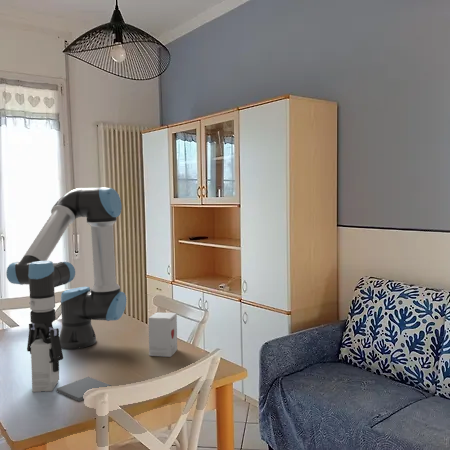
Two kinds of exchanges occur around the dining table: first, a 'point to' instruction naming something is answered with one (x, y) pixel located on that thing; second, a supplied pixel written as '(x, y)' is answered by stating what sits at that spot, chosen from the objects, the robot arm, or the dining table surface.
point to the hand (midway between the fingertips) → (45, 377)
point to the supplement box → (163, 334)
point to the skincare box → (41, 366)
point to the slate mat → (80, 387)
